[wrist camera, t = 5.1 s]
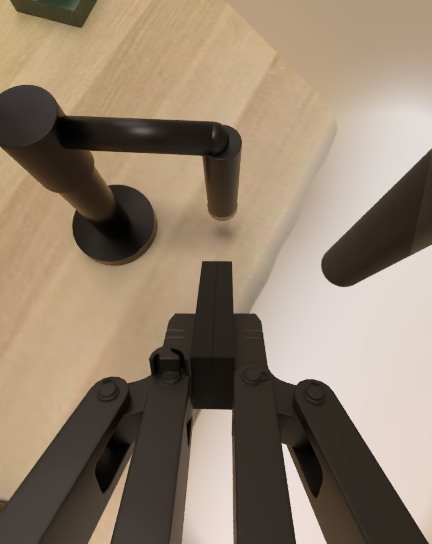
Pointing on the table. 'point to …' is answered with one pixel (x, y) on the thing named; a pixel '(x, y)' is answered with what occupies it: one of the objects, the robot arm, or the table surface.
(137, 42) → the table surface
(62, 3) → the control box
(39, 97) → the crank handle
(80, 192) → the round black base
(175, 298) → the table surface
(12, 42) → the table surface
